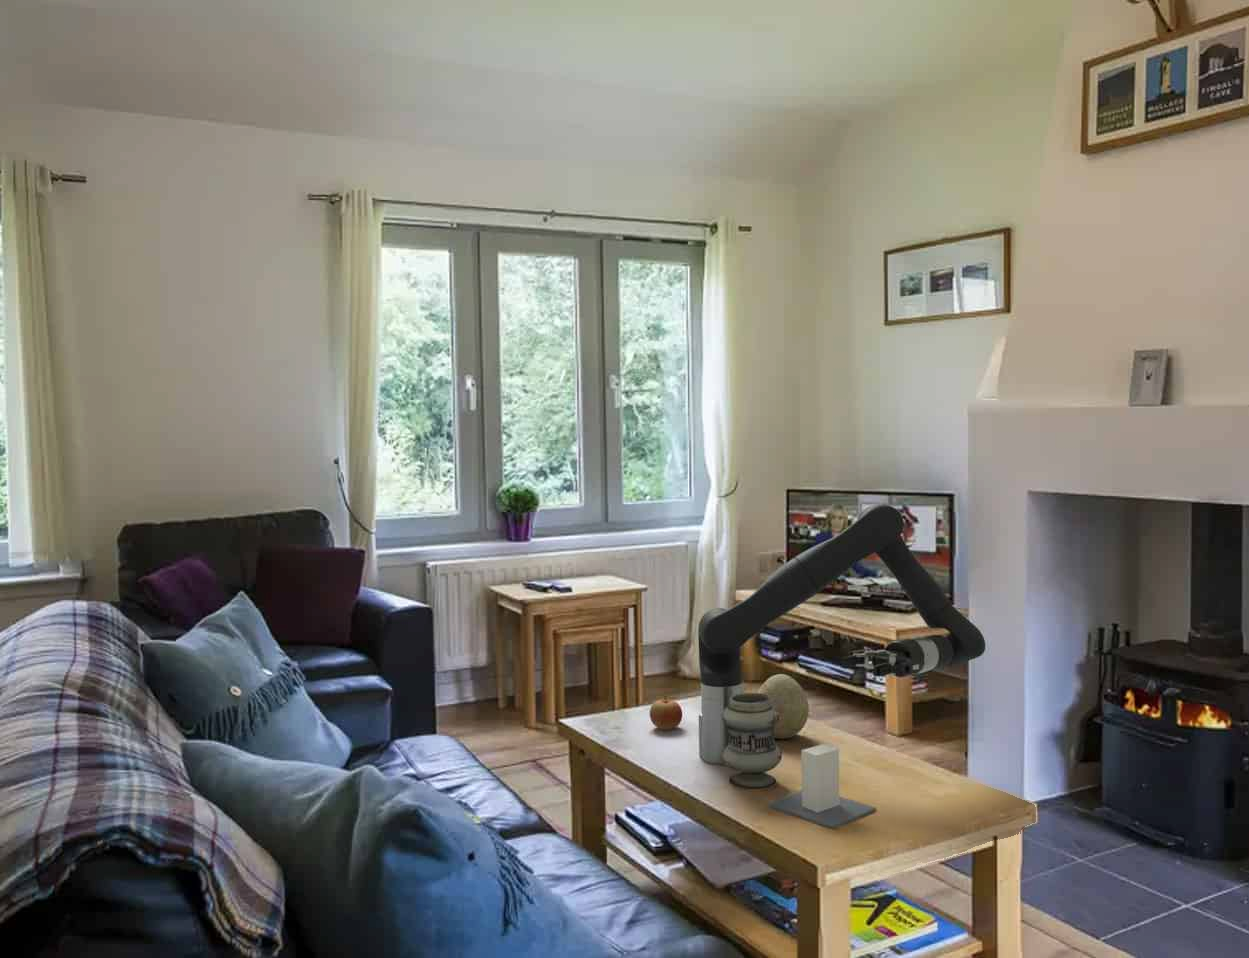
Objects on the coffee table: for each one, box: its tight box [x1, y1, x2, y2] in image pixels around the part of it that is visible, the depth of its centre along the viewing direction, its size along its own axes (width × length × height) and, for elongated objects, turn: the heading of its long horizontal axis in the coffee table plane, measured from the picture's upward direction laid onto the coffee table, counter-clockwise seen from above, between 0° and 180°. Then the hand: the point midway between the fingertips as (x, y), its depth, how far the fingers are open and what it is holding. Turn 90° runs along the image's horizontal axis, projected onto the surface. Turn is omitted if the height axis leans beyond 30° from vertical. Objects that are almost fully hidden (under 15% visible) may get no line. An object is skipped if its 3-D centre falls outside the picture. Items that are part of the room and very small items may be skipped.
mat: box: [766, 789, 877, 829], centre depth 203 cm, size 16×13×1 cm
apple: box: [649, 695, 683, 730], centre depth 258 cm, size 8×8×8 cm
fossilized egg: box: [757, 673, 810, 740], centre depth 248 cm, size 13×13×15 cm
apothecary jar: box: [722, 692, 783, 792], centre depth 218 cm, size 12×12×18 cm
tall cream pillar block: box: [800, 743, 840, 812], centre depth 203 cm, size 4×6×11 cm, turn 125°
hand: (858, 667), depth 211 cm, fingers open, 8 cm apart
